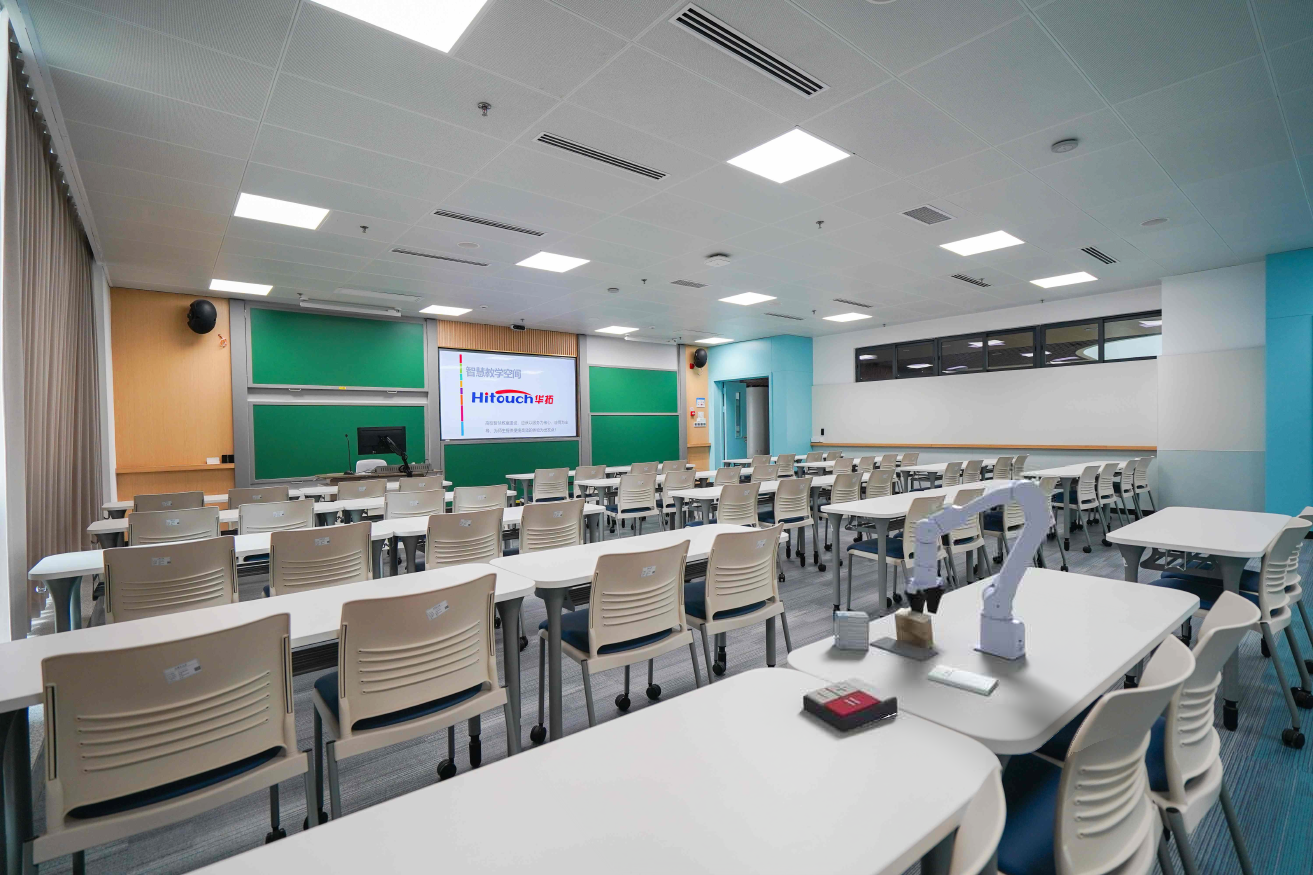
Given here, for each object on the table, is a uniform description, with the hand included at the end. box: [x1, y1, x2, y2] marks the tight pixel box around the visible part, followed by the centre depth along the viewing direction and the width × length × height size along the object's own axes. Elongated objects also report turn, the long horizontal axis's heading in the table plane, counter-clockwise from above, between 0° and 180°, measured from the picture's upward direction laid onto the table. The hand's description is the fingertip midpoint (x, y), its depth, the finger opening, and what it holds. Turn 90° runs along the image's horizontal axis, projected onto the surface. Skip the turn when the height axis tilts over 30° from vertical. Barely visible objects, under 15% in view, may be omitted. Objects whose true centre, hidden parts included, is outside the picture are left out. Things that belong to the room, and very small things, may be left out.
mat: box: [869, 636, 939, 662], centre depth 152 cm, size 14×8×1 cm, turn 38°
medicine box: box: [834, 610, 870, 651], centre depth 153 cm, size 8×4×9 cm, turn 84°
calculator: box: [802, 677, 898, 733], centre depth 119 cm, size 11×4×15 cm
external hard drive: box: [926, 664, 999, 696], centre depth 133 cm, size 2×8×12 cm
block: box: [894, 607, 934, 650], centre depth 155 cm, size 8×4×8 cm, turn 38°
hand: (924, 615), depth 159 cm, fingers open, 7 cm apart
